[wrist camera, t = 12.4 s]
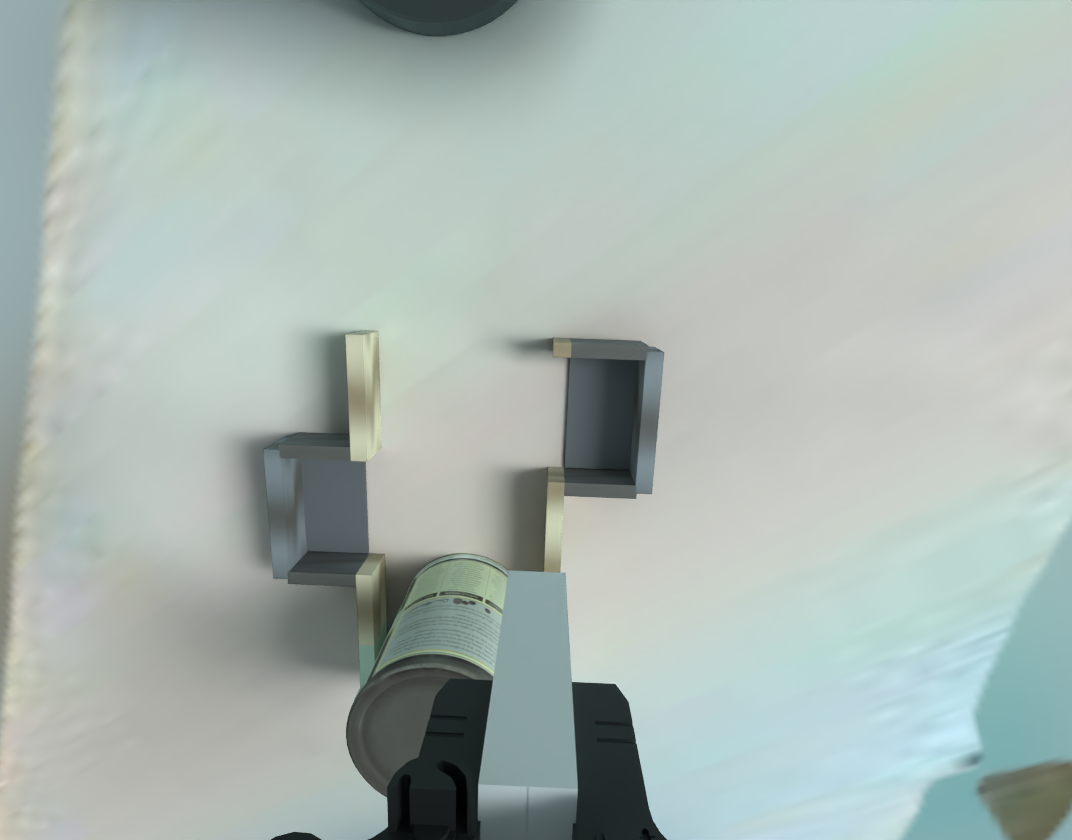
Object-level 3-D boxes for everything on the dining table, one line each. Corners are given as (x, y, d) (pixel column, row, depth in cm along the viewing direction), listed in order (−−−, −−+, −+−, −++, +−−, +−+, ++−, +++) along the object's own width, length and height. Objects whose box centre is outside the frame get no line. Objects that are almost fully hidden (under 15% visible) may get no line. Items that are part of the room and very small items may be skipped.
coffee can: (546, 640, 47) (545, 784, 34) (434, 677, 48) (389, 831, 35) (500, 534, 45) (479, 642, 31) (384, 575, 46) (315, 696, 33)
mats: (294, 343, 42) (293, 343, 42) (637, 355, 42) (638, 356, 41) (307, 549, 46) (306, 550, 46) (621, 563, 45) (622, 564, 45)
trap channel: (277, 327, 42) (253, 331, 38) (655, 341, 41) (664, 346, 38) (298, 615, 47) (278, 641, 44) (631, 630, 47) (637, 657, 43)
